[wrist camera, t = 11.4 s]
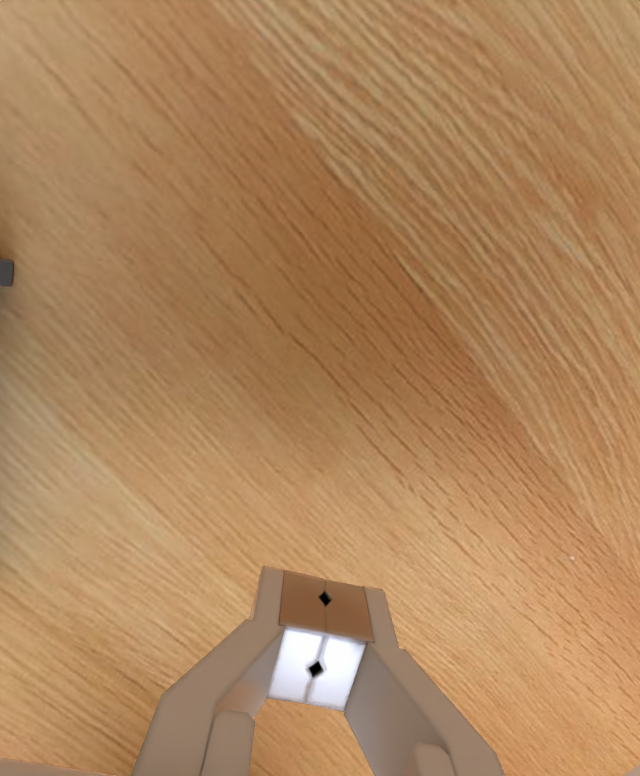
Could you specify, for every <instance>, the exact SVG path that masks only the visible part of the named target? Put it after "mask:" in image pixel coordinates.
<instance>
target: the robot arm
mask: <svg viewBox="0 0 640 776" xmlns="http://www.w3.org/2000/svg"><path fill="white" fill-rule="evenodd" d="M266 698H269V699H276V700H283V701H291V702H298V703H305V704H310V705H314V706H319V707H324V708H329V709H334V710H338V711H343V712H344V715H345V717H346V719H347V721H348V723H349V725H350V727H351V729H352V731H353V733H354V735H355V737H356V739H357V741H358V743H359V745H360V747H361V749H362V751H363V753H364V755H365V757H366V759H367V761H368V763H369V765H370V767H371V769H372V771H373V773H374V775H375V776H505V774H504V771H503V769H502V766H501V764H500V762H499V759H498V757H497V754H496V753H495V751H494V750H493V749H492V748H491V747H490V746H489V745H488V743H487V742H486V741H485V740H484V739H483V738H482V737H481V735H480V734H479V733H478V732H477V731H476V730H475V729H474V727H473V726H472V725H471V724H470V723H469V722H468V721H467V719H466V718H465V717H464V716H463V715H462V714H461V713H460V711H459V710H458V709H457V708H456V707H455V706H454V705H453V703H452V702H451V701H450V700H449V699H448V698H447V696H446V695H445V694H444V693H443V692H442V691H441V690H440V688H439V687H438V686H437V685H436V684H435V683H434V682H433V680H432V679H431V678H430V677H429V676H428V675H427V674H426V672H425V671H424V670H423V669H422V668H421V667H420V666H419V664H418V663H417V662H416V661H415V660H414V659H413V658H412V656H411V655H410V654H409V653H408V652H407V651H406V650H405V649H401V648H399V645H398V642H397V638H396V634H395V630H394V626H393V622H392V618H391V614H390V611H389V607H388V603H387V599H386V595H385V592H384V591H383V590H382V589H378V588H372V587H366V586H357V585H352V584H347V583H342V582H337V581H332V580H327V579H323V578H318V577H314V576H309V575H305V574H301V573H296V572H292V571H287V570H284V571H283V570H282V569H277V568H273V567H268V566H263V567H262V570H261V573H260V577H259V581H258V585H257V589H256V593H255V597H254V601H253V605H252V609H251V613H250V617H249V620H247V619H246V620H245V621H244V622H243V623H241V624H240V625H239V626H238V627H237V628H236V629H235V630H234V631H233V632H231V633H230V634H229V635H228V636H227V637H226V638H225V639H224V640H222V641H221V642H220V643H219V644H218V645H217V646H216V647H215V648H214V649H212V650H211V651H210V652H209V653H208V654H207V655H206V656H205V657H204V658H202V659H201V660H200V661H199V662H198V663H197V664H196V665H195V666H194V667H192V668H191V669H190V670H189V671H188V672H187V673H186V674H185V675H184V676H182V677H181V678H180V679H179V680H178V681H177V682H176V683H175V684H174V685H172V686H171V687H170V688H169V689H168V690H167V691H166V692H165V693H164V694H162V695H161V698H160V701H159V703H158V706H157V708H156V711H155V714H154V716H153V719H152V721H151V724H150V727H149V729H148V732H147V735H146V737H145V740H144V742H143V745H142V748H141V750H140V753H139V755H138V758H137V761H136V763H135V766H134V768H133V771H132V774H131V776H249V768H250V760H251V752H252V744H253V736H254V727H255V721H254V720H253V718H254V717H255V715H256V714H257V712H258V711H259V710H260V708H261V707H262V705H263V704H264V702H265V701H266ZM0 776H119V775H112V774H106V773H99V772H93V771H86V770H80V769H73V768H66V767H60V766H53V765H47V764H40V763H34V762H27V761H21V760H14V759H8V758H1V757H0Z"/></svg>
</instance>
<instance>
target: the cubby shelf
mask: <svg viewBox="0 0 640 776" xmlns="http://www.w3.org/2000/svg"><path fill="white" fill-rule="evenodd" d="M12 274H13V262H12V261H10V260H6V259H2V258H0V286H11V285H12Z"/></svg>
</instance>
